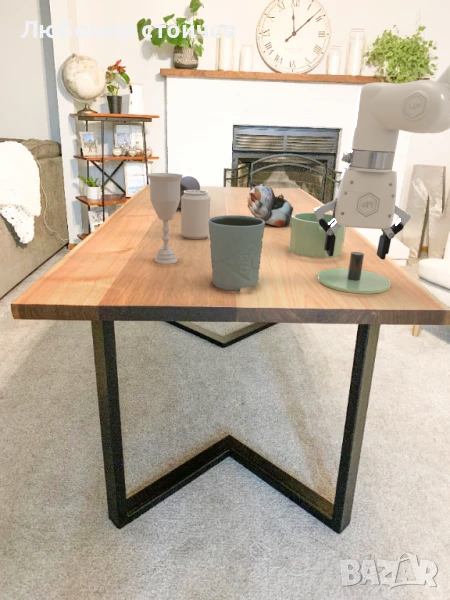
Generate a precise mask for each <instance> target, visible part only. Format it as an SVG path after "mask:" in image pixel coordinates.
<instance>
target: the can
mask: <svg viewBox="0 0 450 600" xmlns="http://www.w3.org/2000/svg"><path fill="white" fill-rule="evenodd" d="M180 217H181V218H180V234H181V235H182V236H183V237H184V238H185V239H189V240H204V239H206V238H208V236H210V234H209V223H208V221H209V219H210V218H211V197H210V196H209V192H208V190H202V189H200V190H185V191H184V195H183V196H182V197H181V208H180Z"/></svg>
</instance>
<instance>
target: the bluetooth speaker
mask: <svg viewBox="0 0 450 600" xmlns="http://www.w3.org/2000/svg"><path fill="white" fill-rule="evenodd" d="M185 190H201V185H200V182H199V180H198V179H197V178H196V177H194V176H182V178H181V180H180V202H179V205H178V208H177V209H181V197H182V196H183V195H184V191H185Z"/></svg>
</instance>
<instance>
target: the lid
mask: <svg viewBox="0 0 450 600" xmlns="http://www.w3.org/2000/svg"><path fill="white" fill-rule="evenodd" d="M364 257H365V253H363V252H361V251H351V252H350V257H349V262H348V263H349V264H348V268H346V267H336V268H335V267H334V268H327V269H324V270H320V272H318V274H317V280H318V282H319V283H320V284H322V285H323V286H324V287H327V288H330V289H332V290H336V291H340V292H344V293H350V294H359V295H360V294H361V295H374V294H375V295H376V294H381V293H385V292H387V291H389V290H390V288H391V286H392V282H391V280H390V279H388V278H387V277H386V276H384V275H381V274H379V273H377V272H374V271H369V270H364V269H363V265H364Z"/></svg>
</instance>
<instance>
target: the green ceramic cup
mask: <svg viewBox="0 0 450 600" xmlns="http://www.w3.org/2000/svg"><path fill="white" fill-rule="evenodd" d="M208 223H209V242H210V244H209V247H210V260H211V261H210V263H211V269H212V270H211V276H212V277H211V278H212V284H213V285H214V287H217V288H218V289H221V290H224V291H234V292H240V291H241V289H246V288H251V287H254V286H256V285H257V284H259V278H260V277H259V276H260V275H259V274H260V269H261V267H260V266H261V265H260V264H261V257H262V252H263V251H262V249H263V239H264V233H265V226H266V223H265V221H264V220H263V219H260V218H257V217H255V216H250V215H241V214H239V215H235V214H233V215H232V214H231V215H230V214H229V215H219V216H213V217H210V219H209V221H208Z"/></svg>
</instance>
